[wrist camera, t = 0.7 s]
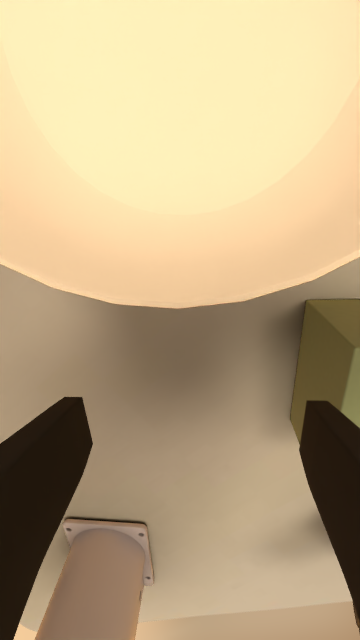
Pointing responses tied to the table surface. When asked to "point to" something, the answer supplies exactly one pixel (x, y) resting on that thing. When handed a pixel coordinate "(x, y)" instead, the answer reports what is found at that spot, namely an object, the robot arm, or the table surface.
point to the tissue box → (328, 359)
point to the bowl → (179, 146)
